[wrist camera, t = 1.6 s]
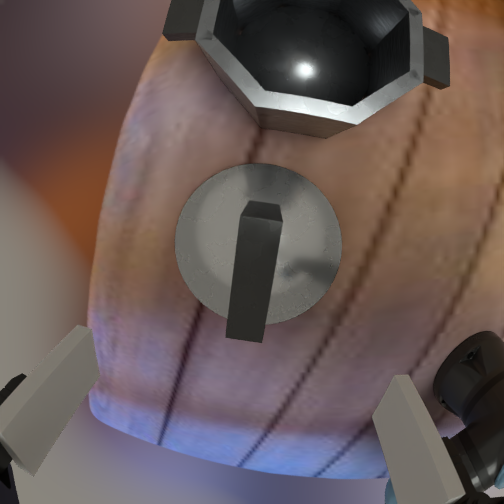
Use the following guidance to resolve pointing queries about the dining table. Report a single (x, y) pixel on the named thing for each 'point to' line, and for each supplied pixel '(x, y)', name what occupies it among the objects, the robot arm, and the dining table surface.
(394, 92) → the pot
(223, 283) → the lid
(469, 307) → the dining table surface
